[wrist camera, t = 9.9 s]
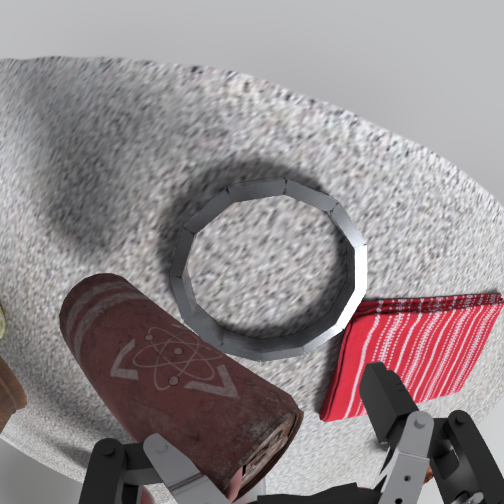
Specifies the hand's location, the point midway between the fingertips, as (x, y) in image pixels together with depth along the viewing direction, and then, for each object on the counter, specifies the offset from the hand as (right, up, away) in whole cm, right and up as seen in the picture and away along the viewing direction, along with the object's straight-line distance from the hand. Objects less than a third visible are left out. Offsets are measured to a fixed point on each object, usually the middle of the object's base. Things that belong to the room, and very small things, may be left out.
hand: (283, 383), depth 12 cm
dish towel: (+18, -6, +16) cm, 25 cm away
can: (-12, +2, +5) cm, 13 cm away
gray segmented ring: (0, +4, +11) cm, 12 cm away
